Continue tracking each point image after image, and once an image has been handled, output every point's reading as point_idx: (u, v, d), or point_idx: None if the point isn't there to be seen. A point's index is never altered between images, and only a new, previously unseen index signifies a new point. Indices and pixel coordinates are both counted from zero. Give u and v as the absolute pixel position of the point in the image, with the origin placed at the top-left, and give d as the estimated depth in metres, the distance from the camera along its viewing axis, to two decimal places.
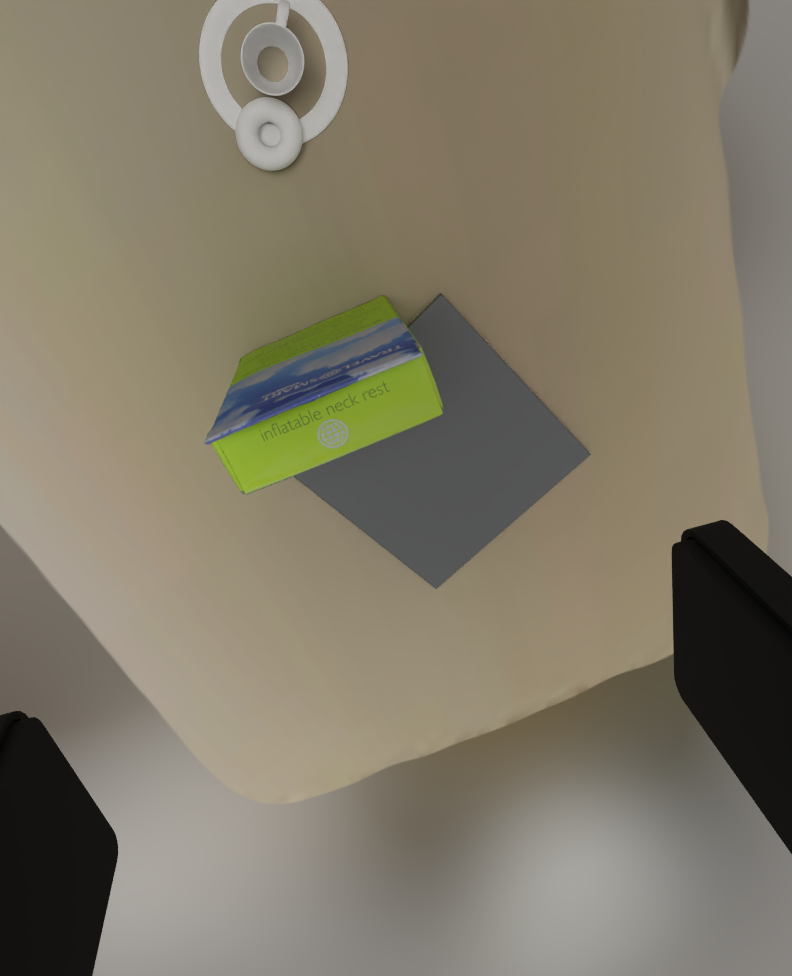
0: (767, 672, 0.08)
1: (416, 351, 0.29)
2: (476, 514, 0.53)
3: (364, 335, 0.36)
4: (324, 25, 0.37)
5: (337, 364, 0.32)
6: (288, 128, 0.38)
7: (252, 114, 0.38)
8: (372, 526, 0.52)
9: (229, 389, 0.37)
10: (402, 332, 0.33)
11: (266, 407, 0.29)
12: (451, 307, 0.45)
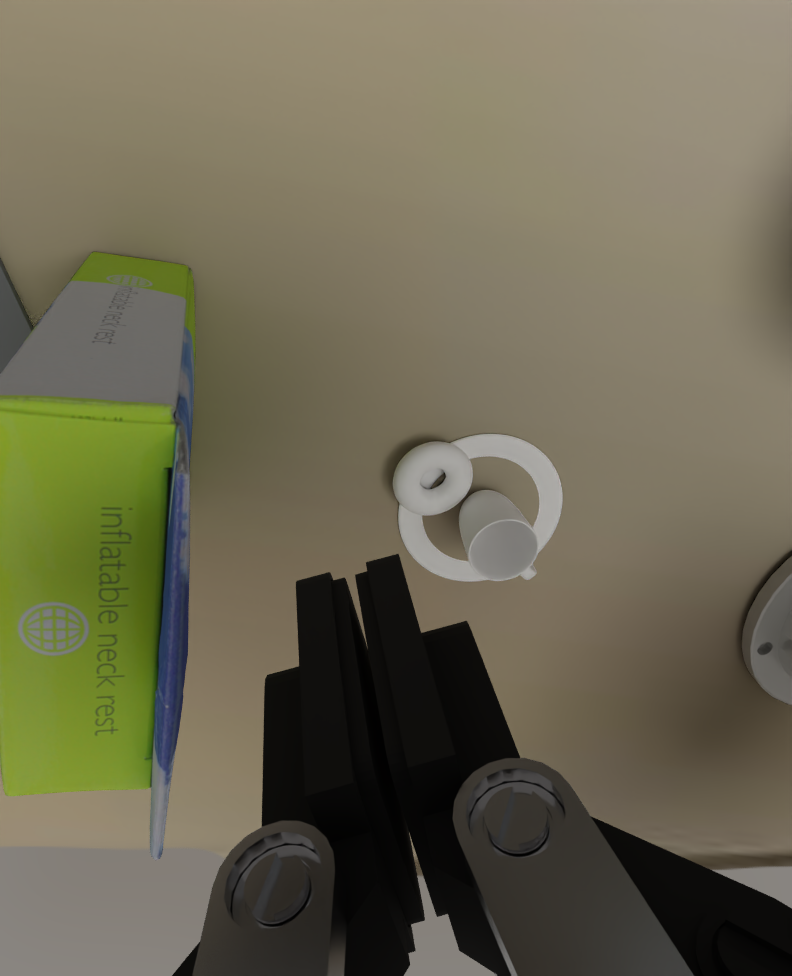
0: None
1: (162, 848, 0.16)
2: None
3: None
4: None
5: None
6: (427, 505, 0.31)
7: (462, 478, 0.31)
8: None
9: (191, 342, 0.19)
10: None
11: (188, 594, 0.13)
12: None
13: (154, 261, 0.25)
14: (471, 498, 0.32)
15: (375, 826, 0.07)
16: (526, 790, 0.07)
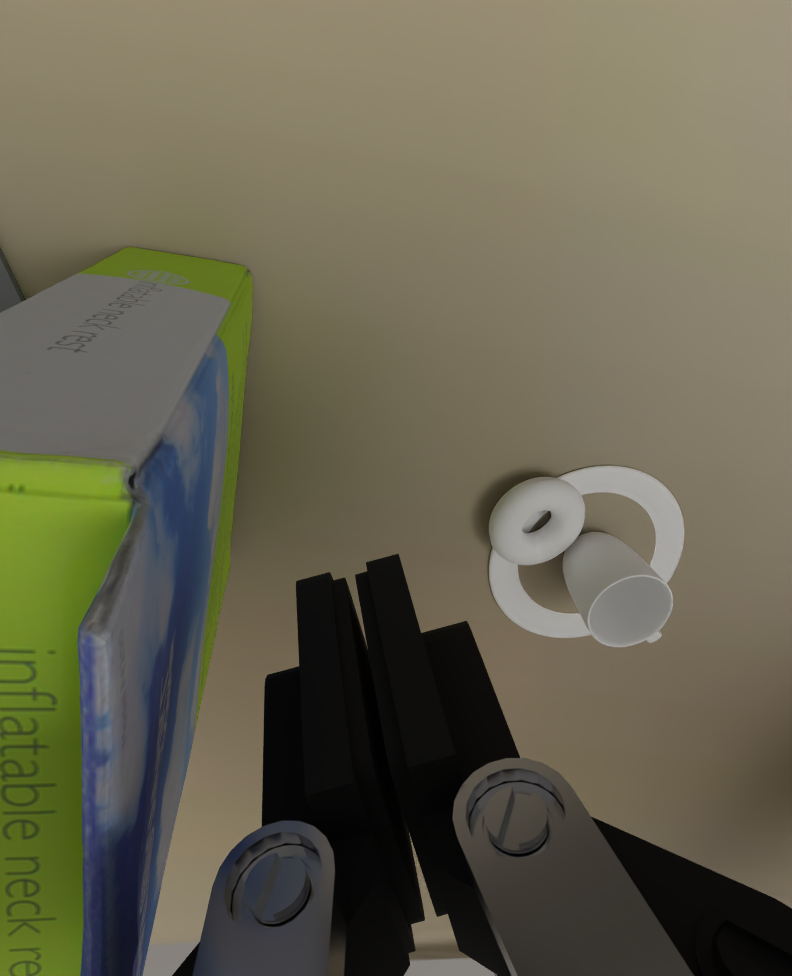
0: None
1: None
2: None
3: (191, 712, 0.15)
4: (578, 623, 0.29)
5: (161, 808, 0.11)
6: (529, 553, 0.25)
7: (574, 520, 0.25)
8: None
9: (223, 358, 0.13)
10: (162, 876, 0.13)
11: (135, 841, 0.07)
12: None
13: (203, 259, 0.20)
14: (580, 543, 0.26)
15: (375, 826, 0.07)
16: (526, 790, 0.07)
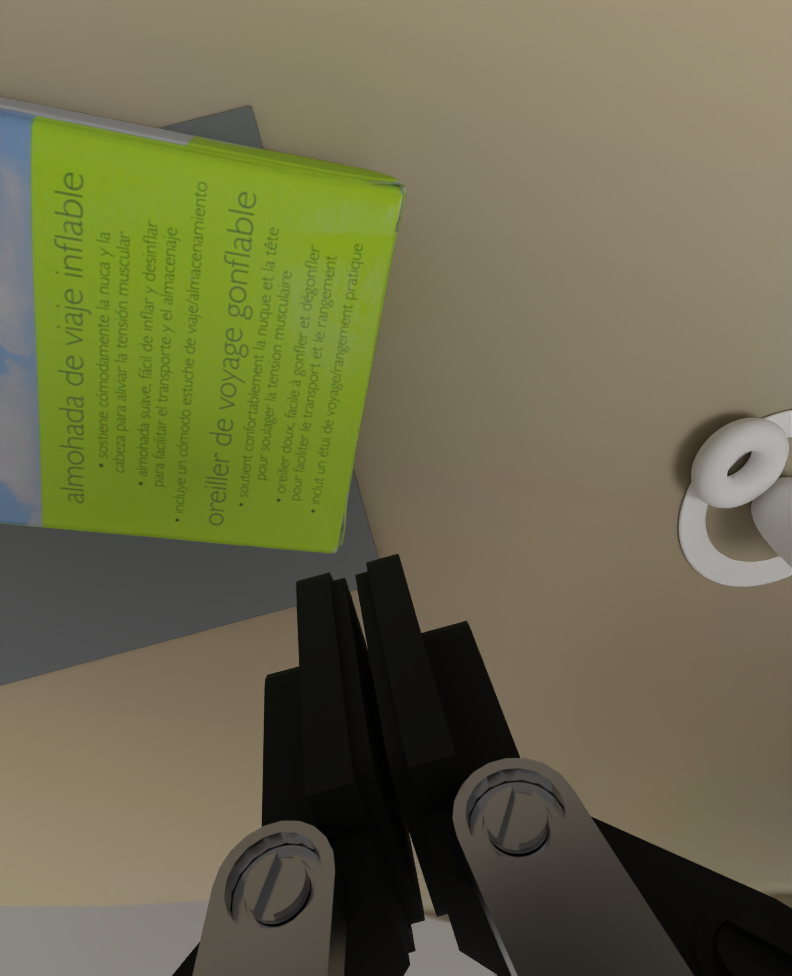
0: None
1: None
2: None
3: None
4: (755, 572, 0.29)
5: None
6: (731, 495, 0.25)
7: (779, 462, 0.25)
8: None
9: (0, 123, 0.14)
10: None
11: None
12: (355, 587, 0.26)
13: (379, 173, 0.17)
14: (777, 487, 0.26)
15: (375, 826, 0.07)
16: (526, 790, 0.07)
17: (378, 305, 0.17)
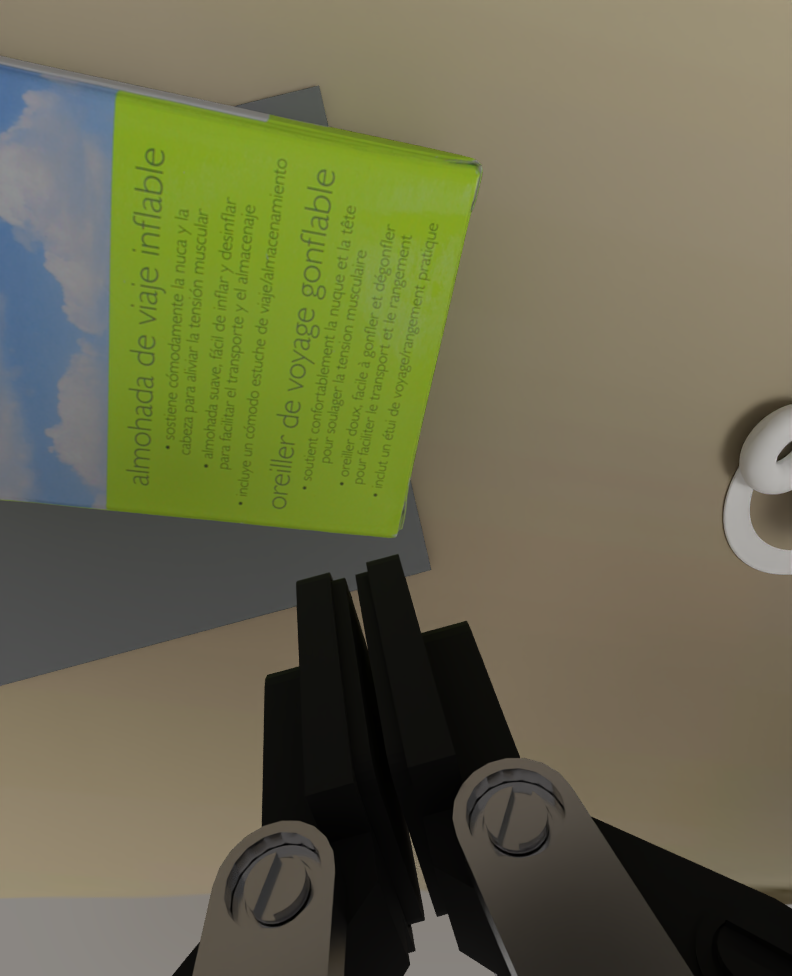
0: None
1: None
2: None
3: (54, 434, 0.17)
4: None
5: None
6: (780, 481, 0.25)
7: None
8: None
9: (84, 97, 0.14)
10: None
11: None
12: None
13: None
14: None
15: (375, 826, 0.07)
16: (526, 790, 0.07)
17: (450, 286, 0.17)
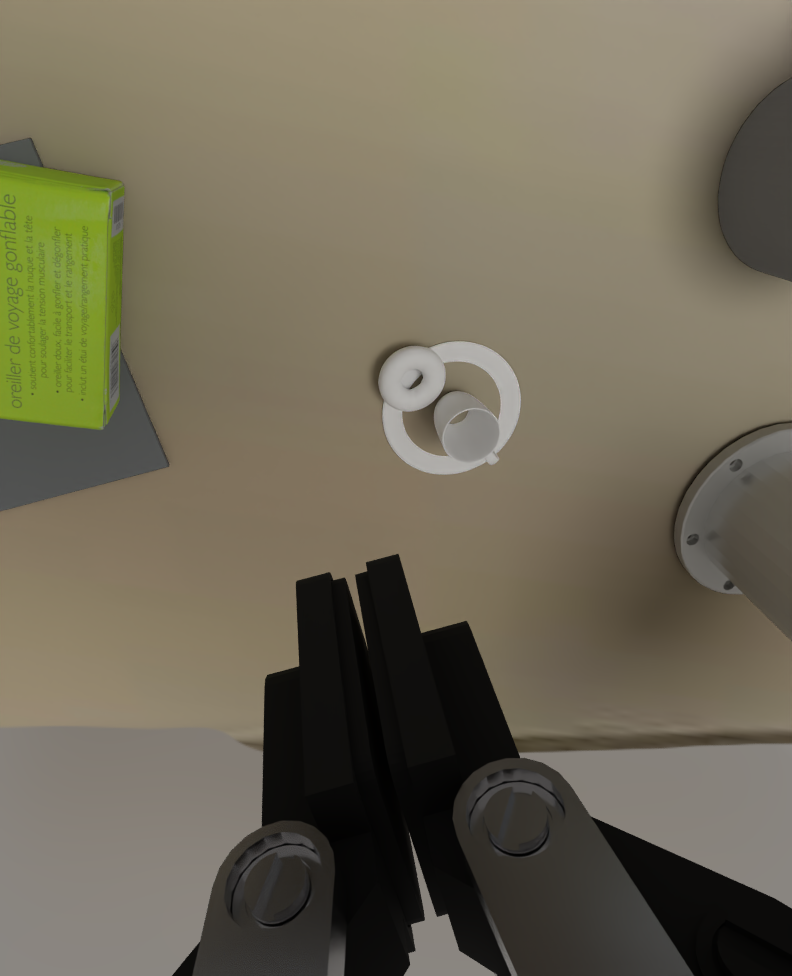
0: None
1: None
2: None
3: None
4: (450, 464, 0.40)
5: None
6: (407, 401, 0.37)
7: (437, 377, 0.36)
8: None
9: None
10: None
11: None
12: (147, 470, 0.37)
13: (104, 182, 0.28)
14: (444, 397, 0.37)
15: (375, 826, 0.07)
16: (526, 790, 0.07)
17: (104, 264, 0.28)
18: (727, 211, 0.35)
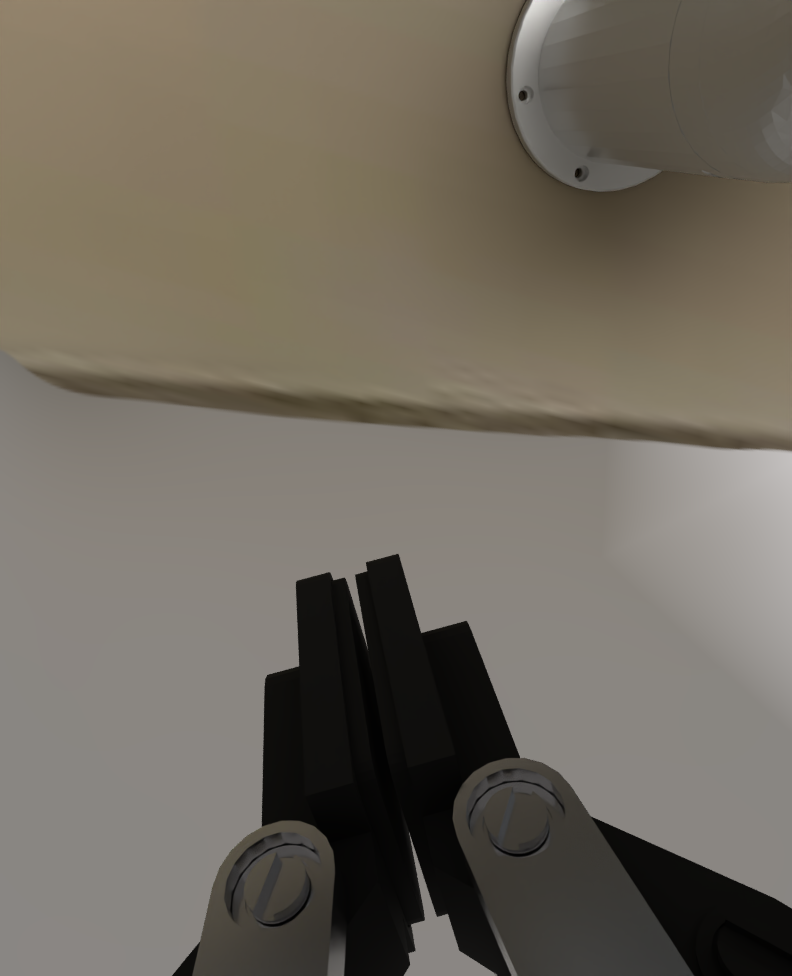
0: None
1: None
2: None
3: None
4: None
5: None
6: None
7: None
8: None
9: None
10: None
11: None
12: None
13: None
14: None
15: (375, 826, 0.07)
16: (526, 790, 0.07)
17: None
18: None
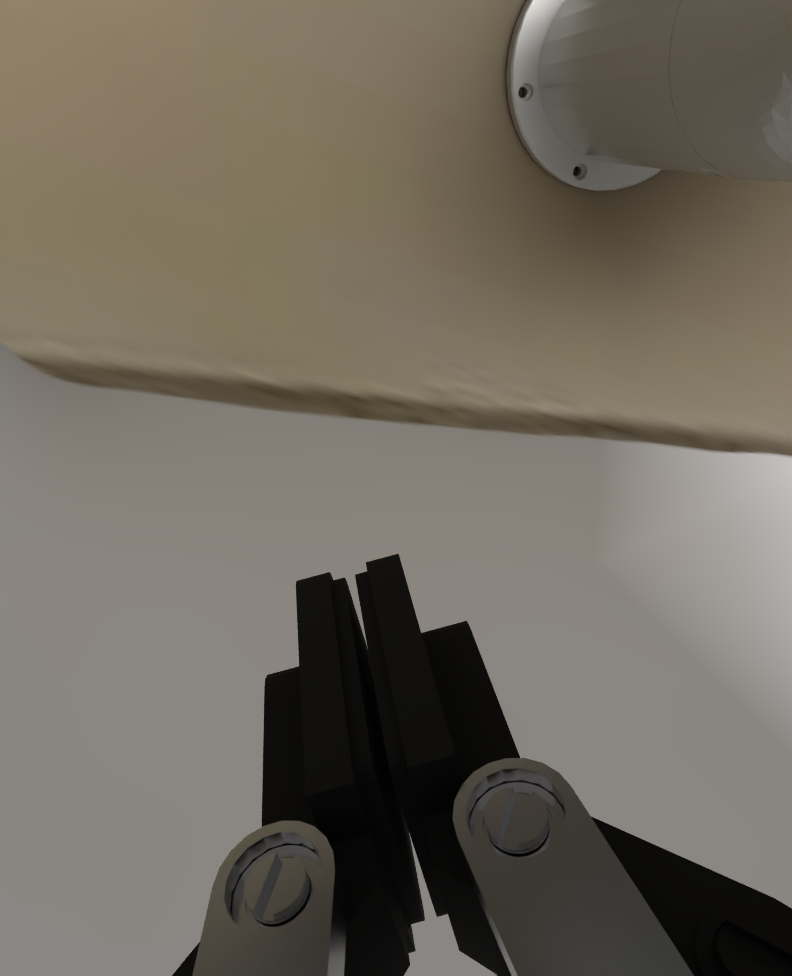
0: None
1: None
2: None
3: None
4: None
5: None
6: None
7: None
8: None
9: None
10: None
11: None
12: None
13: None
14: None
15: (375, 826, 0.07)
16: (526, 790, 0.07)
17: None
18: None
